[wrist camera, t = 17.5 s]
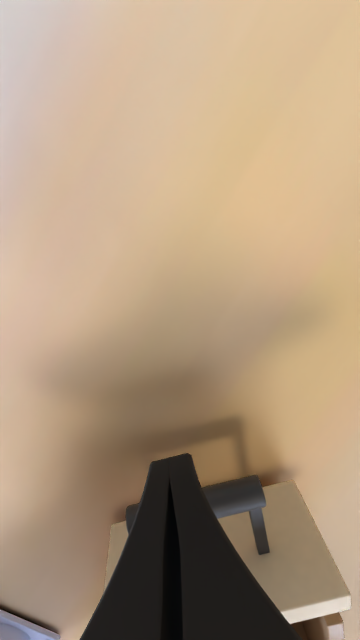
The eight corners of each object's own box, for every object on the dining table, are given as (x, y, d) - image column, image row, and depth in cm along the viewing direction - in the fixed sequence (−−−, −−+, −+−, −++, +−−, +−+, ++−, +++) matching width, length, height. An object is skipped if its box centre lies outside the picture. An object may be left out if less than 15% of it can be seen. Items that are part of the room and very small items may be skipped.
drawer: (84, 467, 18) (54, 594, 13) (285, 417, 18) (348, 521, 13) (162, 635, 25) (166, 769, 19) (309, 599, 25) (357, 722, 19)
